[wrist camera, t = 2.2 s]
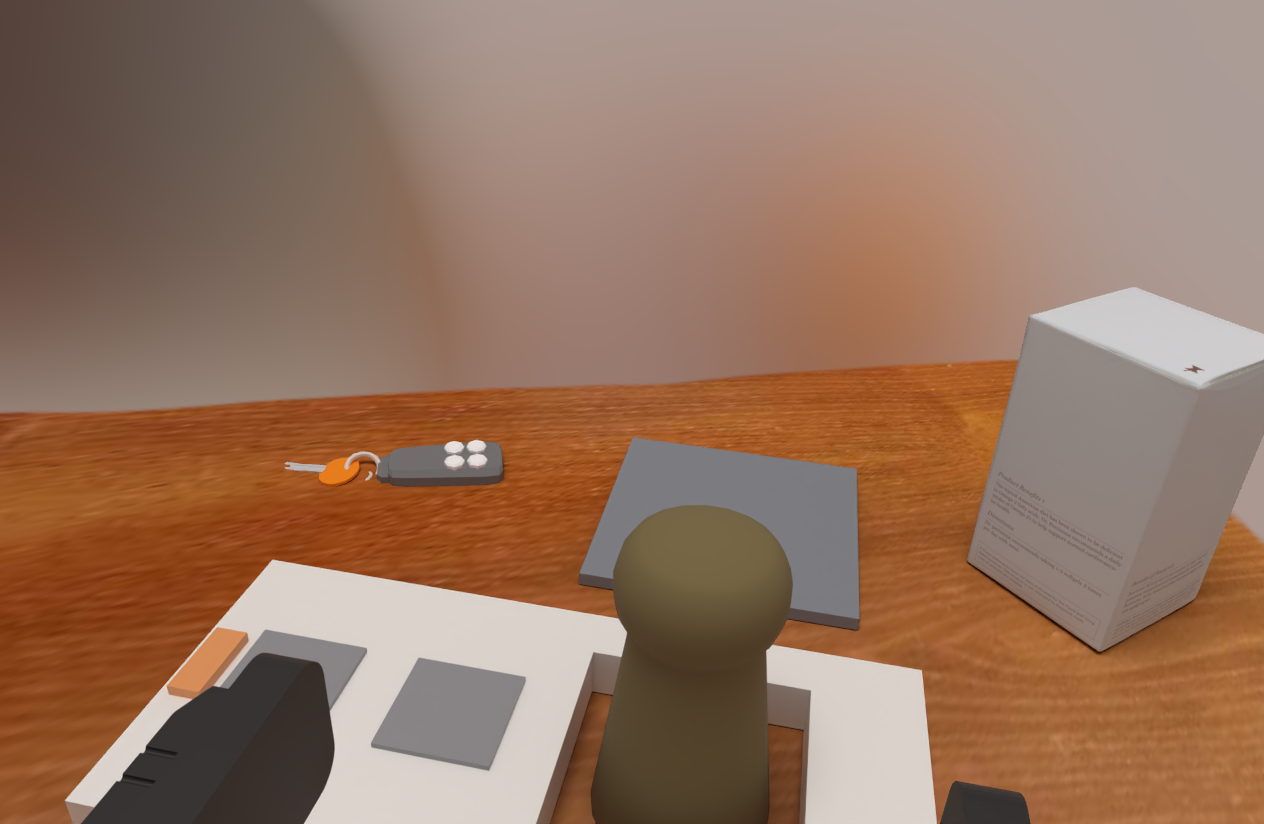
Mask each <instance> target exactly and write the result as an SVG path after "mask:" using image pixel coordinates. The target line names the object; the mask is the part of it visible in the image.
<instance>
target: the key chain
mask: <svg viewBox="0 0 1264 824" xmlns="http://www.w3.org/2000/svg"><path fill="white" fill-rule="evenodd" d="M361 456H365V457H370V458H371V459H373V460H374V461H375V463H376V464H377V470H376V474H377V479H378V480H379V481H380V482H381V483H390V484H392V485H393V486H406V487H411V486H460V485H489V484H495V483H500V482H501V480H502V479H503V458H502V451H501V446H500V445H499V444H497V443H495V442H483V441H478V440H475V441H471V442H469V443H461V442H456V441H453V442H449V443H447V444H446V445H433V446H420V447H407V448H402V449H397V450H393V451H392V452H391V453H390V456H383V457H382V458H381V459H379V458H378V456H376V455H374V454H372V453H371V452H359V453H355V454H353V455H352V456H350V457H349V458H340V459H336V460H333V461H332V462H330V463H328V464H327V466H324V465H313V464H307V465H306V464H299V463H290V462H286V463H285V464H287V465H290V467H285V468H286V469H292V470H294V471H301V472H302V471H306V472H314V473H320V474H319V481H320V482H321V483H322V484H323V485H326V486H329V487H331V486H339V485H342V484H345V483H347V482H349V481H351V480H352V479H353V478H354V477H355V476H357V474H358V472H359V470H360V467H359V462H358V461H357V460H356V458H358V457H361ZM369 474H370V475H369V476H368V477H367V478H366V479H365V480H369V479H370V478H371V477H372V472H370V471H369Z"/></svg>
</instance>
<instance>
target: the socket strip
mask: <svg viewBox="0 0 1264 824" xmlns="http://www.w3.org/2000/svg"><path fill="white" fill-rule="evenodd" d="M626 635H627V632H626V630H625V629H624V627H623V625H622V624H621V622H620V620H619V619H617V618H611V617H605V616H599V615H593V614H587V613H581V612H576V611H570V610H564V609H558V608H552V607H546V606H540V605H534V604H529V603H523V602H517V601H511V600H505V599H499V598H493V597H487V596H482V595H476V594H470V593H464V592H458V591H452V590H446V589H440V588H435V587H429V586H423V585H417V584H411V583H405V582H399V581H394V580H388V579H382V578H376V577H370V576H364V575H358V574H352V573H347V572H341V571H335V570H329V569H323V568H317V567H311V566H305V565H300V564H294V563H288V562H282V561H276V560H272V561H271V562H270V564H269V565H268V566H267V567H266V568H265V569H264V570H263V572H262V573H261V574H260V575H259V576H258V577H257V579H256V580H255V581H254V582H253V583H252V584H251V586H250V587H249V588H248V589H247V590H246V591H245V592H244V594H243V595H242V596H241V597H240V598H239V599H238V601H237V602H236V603H235V604H234V605H233V606H232V608H231V609H230V610H229V611H228V612H227V613H226V614H225V616H224V617H223V618H222V619H221V620H220V621H219V623H218V624H217V625H216V626H215V627H214V628H213V630H212V631H211V632H210V633H209V634H208V635H207V637H206V638H205V639H204V640H203V641H202V642H201V643H200V645H199V646H198V647H197V648H196V649H195V650H194V652H193V653H192V654H191V655H190V656H189V657H188V659H187V660H186V661H185V662H184V663H183V664H182V665H181V667H180V668H179V669H178V670H177V671H176V672H175V674H174V675H173V676H172V677H171V678H170V679H169V681H168V682H167V683H166V684H165V685H164V686H163V687H162V689H161V690H160V691H159V692H158V693H157V694H156V696H155V697H154V698H153V699H152V700H151V701H150V703H149V704H148V705H147V706H146V707H145V708H144V709H143V711H142V712H141V713H140V714H139V715H138V716H137V718H136V719H135V720H134V721H133V722H132V723H131V725H130V726H129V727H128V728H127V729H126V730H125V731H124V733H123V734H122V735H121V736H120V737H119V738H118V740H117V741H116V742H115V743H114V744H113V745H112V747H111V748H110V749H109V750H108V751H107V752H106V753H105V755H104V756H103V757H102V758H101V759H100V760H99V762H98V763H97V764H96V765H95V766H94V767H93V769H92V770H91V771H90V772H89V773H88V774H87V775H86V777H85V778H84V779H83V780H82V781H81V782H80V784H79V785H78V786H77V787H76V788H75V789H74V791H73V792H72V793H71V794H70V795H69V796H68V797H67V799H66V800H65V803H66V806H67V808H68V811H69V814H70V816H71V819H72V822H73V824H81V823H82V822H83V821H84V819H85V818H86V817H87V816H88V815H89V813H90V812H91V811H92V810H93V809H94V807H95V806H96V805H97V804H98V803H99V801H100V800H101V799H102V798H103V797H104V795H105V794H106V793H107V792H108V791H109V789H110V788H111V787H112V786H113V785H114V783H115V782H116V781H120V780H121V779H122V776H123V773H124V771H125V770H126V769H127V768H128V767H129V765H130V764H131V763H132V762H133V761H134V759H135V758H136V757H137V756H138V755H139V753H144V751H145V749H146V745H147V744H148V743H149V741H150V740H151V739H152V738H153V737H154V735H155V734H156V733H157V732H158V731H159V729H160V728H161V727H162V726H163V725H164V723H165V722H166V721H167V720H168V719H169V717H170V716H171V715H172V714H173V713H174V712H175V711H176V710H178V709H179V708H181V707H182V706H184V705H185V704H187V703H188V702H190V701H191V700H193V699H194V698H195V697H197V696H198V695H200V694H201V693H203V692H204V691H206V690H207V689H209V688H210V687H212V686H217V687H222V688H227V689H229V687H230V686H231V685H232V684H233V682H234V681H235V680H236V679H237V677H238V676H239V675H240V674H241V672H242V671H243V670H244V668H245V667H246V666H247V665H248V663H249V662H250V661H251V660H252V659H253V658H254V657H255V656H257V655H258V654H260V653H264V652H265V653H271V654H277V655H282V656H288V657H293V658H299V659H304V660H310V661H315V662H318V663H319V664H320V665H321V666H322V669H323V672H324V677H325V684H326V690H327V697H328V703H329V709H330V716H331V722H332V729H333V735H334V743H335V752H334V760H333V765H332V769H331V772H330V776H329V779H328V781H327V784H326V786H325V788H324V790H323V792H322V794H321V796H320V798H319V799H318V801H317V803H316V804H315V806H314V808H313V809H312V811H311V813H310V814H309V816H308V818H307V819H306V821H305V823H304V824H550V821H551V818H552V815H553V812H554V809H555V806H556V802H557V799H558V796H559V793H560V790H561V787H562V784H563V781H564V777H565V774H566V771H567V768H568V765H569V762H570V759H571V756H572V752H573V749H574V746H575V743H576V740H577V737H578V734H579V730H580V727H581V724H582V721H583V718H584V715H585V712H586V709H587V705H588V702H589V699H590V696H591V693H592V691H593V692H598V693H604V694H609V695H613V692H614V688H615V683H616V679H617V675H618V670H619V666H620V662H621V657H622V653H623V648H624V644H625V640H626ZM766 656H767V709H768V724H774V725H779V726H785V727H790V728H795V729H801V730H804V731H803V750H802V770H801V790H800V809H799V824H937V821H936V811H935V801H934V791H933V780H932V770H931V760H930V750H929V739H928V729H927V719H926V709H925V698H924V688H923V678H922V670H916V669H910V668H904V667H899V666H893V665H887V664H881V663H875V662H869V661H863V660H857V659H852V658H846V657H840V656H834V655H828V654H822V653H816V652H810V651H805V650H799V649H793V648H787V647H781V646H775V645H772V646H771V647H770V648H769V649H768V650H766Z"/></svg>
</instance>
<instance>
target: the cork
mask: <svg viewBox="0 0 1264 824" xmlns="http://www.w3.org/2000/svg"><path fill="white" fill-rule="evenodd" d="M792 590H793V579H792V572H791V567H790V565H789V562H788V559H787V557H786V554H785V552H784V550H783V548H782V547H781V545H780V543H779V541H778V540H777V539H776V538H775V537H774V535H773V534H772V533H771V532H770V531H769V530H768V529H767V528H766V527H765V526H764V525H762V524H760V523H759V522H757V521H756V520H754V519H752V518H751V517H749V516H747V515H744V514H741V513H739V512H736V511H733V510H730V509H727V508H721V507H715V506H709V505H682V506H678V507H673V508H668V509H663V510H661V511H659V512H657V513H655V514H653V515H651V516H649V517H647V518H645V519H644V520H643V521H642V522H641V523H640V524H639V525H638V526H637V527H636V528H635V529H634V530H633V531H632V532H631V533H630V534H629V535H628V537H627V538H626V539H625V540H624V543H623V545H622V548H621V550H620V553H619V555H618V558H617V561H616V564H615V567H614V569H613V591H614V600H615V606H616V610H617V614H618V617H619V620H620V622H621V624H622V625H623V627H624V629H625V630H626V632H627V635H626V640H625V644H624V648H623V653H622V657H621V662H620V666H619V670H618V675H617V679H616V683H615V688H614V692H613V696H612V701H611V705H610V709H609V714H608V718H607V723H606V727H605V731H604V736H603V740H602V744H601V749H600V753H599V757H598V762H597V766H596V770H595V775H594V779H593V784H592V788H591V802H592V815H593V817H594V820H595V822H596V824H767V822H768V813H769V763H768V709H767V656H766V650H768V649H769V648H770V647H771V646H772V644H773V643H774V641H775V640H776V638H777V637H778V635H779V634H780V632H781V630H782V629H783V627H784V625H785V623H786V621H787V619H788V615H789V610H790V605H791V598H792Z"/></svg>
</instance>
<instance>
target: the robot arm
mask: <svg viewBox="0 0 1264 824" xmlns="http://www.w3.org/2000/svg"><path fill="white" fill-rule="evenodd" d="M334 752H335V743H334V735H333V729H332V722H331V716H330V709H329V703H328V697H327V690H326V684H325V677H324V672H323V669H322V666H321V665H320V664H319V663H318V662H315V661H310V660H304V659H299V658H293V657H288V656H282V655H277V654H271V653H265V652H264V653H260V654H258V655H257V656H255V657H254V658H253V659H252V660H251V661H250V662H249V663H248V665H247V666H246V667H245V668H244V670H243V671H242V672H241V674H240V675H239V676H238V677H237V679H236V680H235V681H234V682H233V684H232V685H231V686H230V687H229V689H227V688H222V687H217V686H212V687H210V688H209V689H207V690H206V691H204V692H203V693H201V694H200V695H198V696H197V697H195V698H194V699H193V700H191V701H190V702H188V703H187V704H185V705H184V706H182V707H181V708H179V709H178V710H176V711H175V712H174V713H173V714H172V715H171V716H170V717H169V719H168V720H167V721H166V722H165V723H164V725H163V726H162V727H161V728H160V729H159V731H158V732H157V733H156V734H155V735H154V737H153V738H152V739H151V740H150V741H149V743H148V744H147V745H146V749H145V751H144V753H139V755H138V756H137V757H136V758H135V759H134V761H133V762H132V763H131V764H130V765H129V767H128V768H127V769H126V770H125V771H124V773H123V776H122V779H121V780H120V781H116V782H115V783H114V785H113V786H112V787H111V788H110V789H109V791H108V792H107V793H106V794H105V795H104V797H103V798H102V799H101V800H100V801H99V803H98V804H97V805H96V806H95V807H94V809H93V810H92V811H91V812H90V813H89V815H88V816H87V817H86V818H85V819H84V821H83V822H82V823H81V824H304V823H305V821H306V819H307V818H308V816H309V814H310V813H311V811H312V809H313V808H314V806H315V804H316V803H317V801H318V799H319V798H320V796H321V794H322V792H323V790H324V788H325V786H326V784H327V781H328V779H329V776H330V772H331V769H332V765H333V760H334ZM940 824H1030V819H1029V814H1028V809H1027V805H1026V802H1025V799H1024V797H1023V795H1022V794H1021V793H1019V792H1014V791H1008V790H1003V789H997V788H992V787H986V786H981V785H975V784H970V783H964V782H959V781H955V782H954V783H953V784H952V786H951V788H950V791H949V795H948V798H947V802H946V805H945V808H944V812H943V815H942V819H941V822H940Z"/></svg>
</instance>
